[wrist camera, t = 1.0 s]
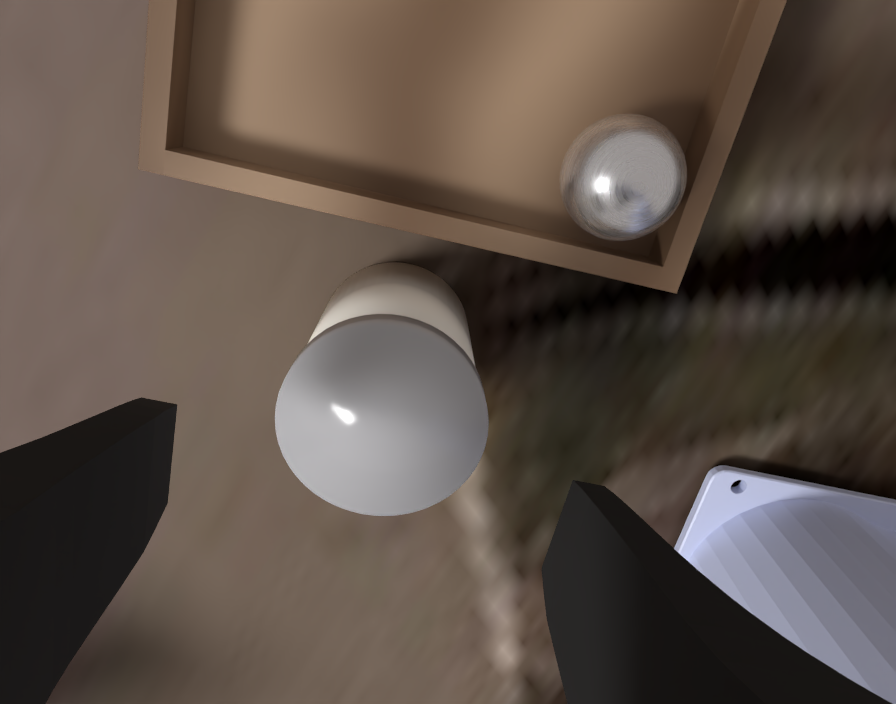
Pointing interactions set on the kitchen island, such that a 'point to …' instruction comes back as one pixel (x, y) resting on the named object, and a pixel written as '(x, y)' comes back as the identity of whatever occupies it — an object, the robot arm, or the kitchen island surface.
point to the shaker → (385, 395)
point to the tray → (450, 110)
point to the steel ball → (623, 177)
